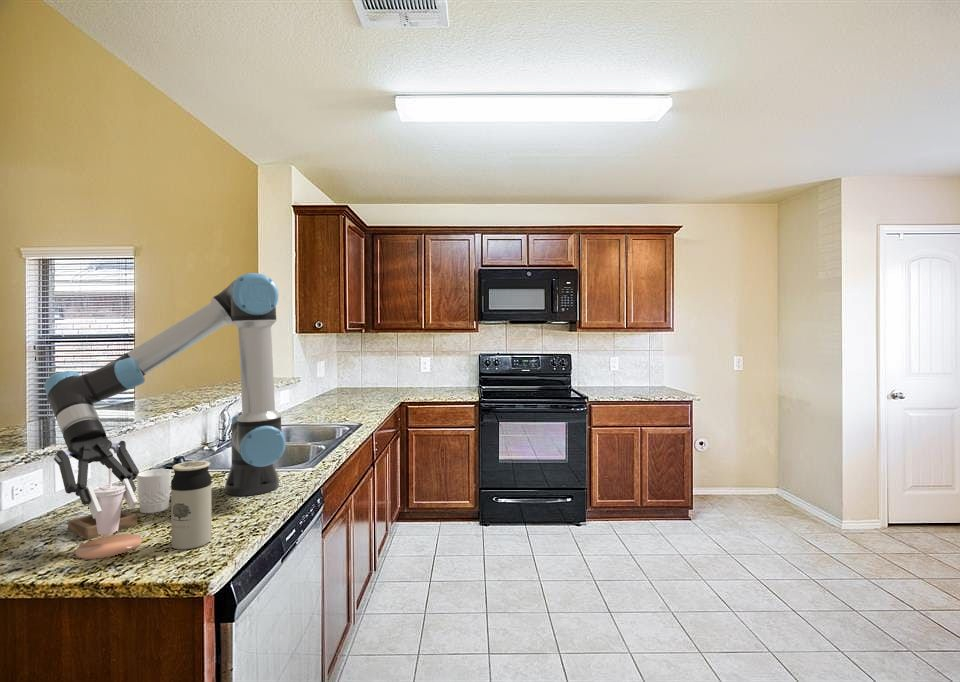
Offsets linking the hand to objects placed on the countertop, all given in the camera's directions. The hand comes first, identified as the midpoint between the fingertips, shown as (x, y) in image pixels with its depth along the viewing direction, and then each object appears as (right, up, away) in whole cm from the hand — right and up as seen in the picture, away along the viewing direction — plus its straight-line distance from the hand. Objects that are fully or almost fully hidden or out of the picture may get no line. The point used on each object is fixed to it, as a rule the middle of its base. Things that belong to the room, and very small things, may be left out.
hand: (116, 509), depth 113 cm
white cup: (-9, -9, +27) cm, 30 cm away
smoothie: (-3, -6, +2) cm, 7 cm away
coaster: (-3, -9, +2) cm, 10 cm away
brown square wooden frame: (-13, -9, +14) cm, 21 cm away
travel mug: (+14, -9, +5) cm, 17 cm away
